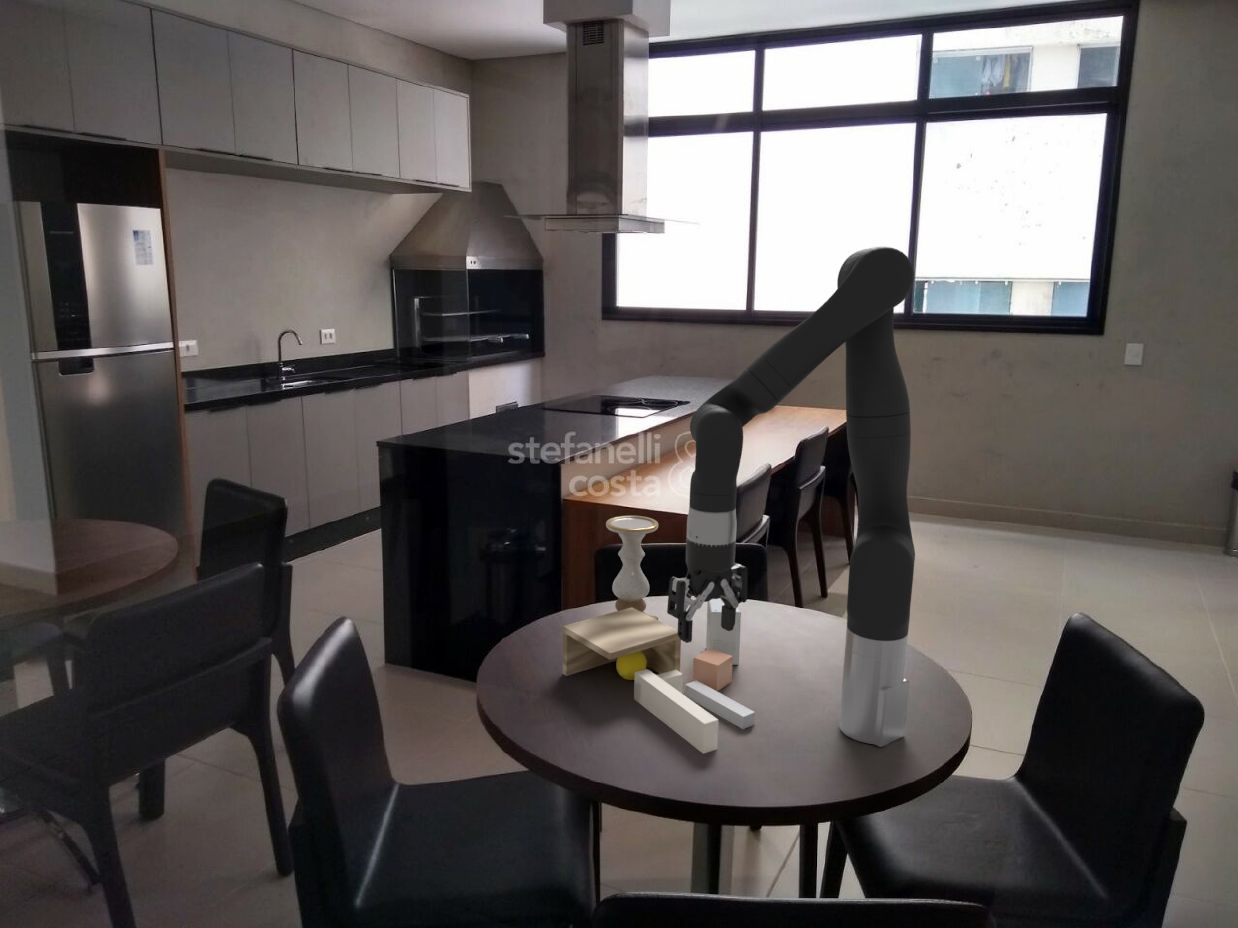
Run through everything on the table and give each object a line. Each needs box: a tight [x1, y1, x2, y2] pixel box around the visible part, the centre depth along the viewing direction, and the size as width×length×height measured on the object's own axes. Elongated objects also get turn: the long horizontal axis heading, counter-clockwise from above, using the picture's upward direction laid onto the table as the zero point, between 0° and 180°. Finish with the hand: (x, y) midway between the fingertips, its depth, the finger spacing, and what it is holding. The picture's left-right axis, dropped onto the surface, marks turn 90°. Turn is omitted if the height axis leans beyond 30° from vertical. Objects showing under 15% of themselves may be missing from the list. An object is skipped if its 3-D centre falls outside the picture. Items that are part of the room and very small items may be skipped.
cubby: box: [562, 607, 682, 677], centre depth 157 cm, size 14×16×9 cm
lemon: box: [615, 651, 647, 681], centre depth 158 cm, size 7×5×5 cm
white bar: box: [633, 668, 719, 754], centre depth 144 cm, size 20×9×5 cm, turn 31°
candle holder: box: [605, 515, 659, 621], centre depth 173 cm, size 11×11×24 cm
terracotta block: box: [692, 648, 733, 692], centre depth 156 cm, size 5×5×5 cm
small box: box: [705, 598, 742, 666], centre depth 167 cm, size 8×6×10 cm
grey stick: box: [684, 680, 756, 730], centre depth 147 cm, size 14×3×2 cm, turn 37°
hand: (706, 634), depth 138 cm, fingers open, 8 cm apart
